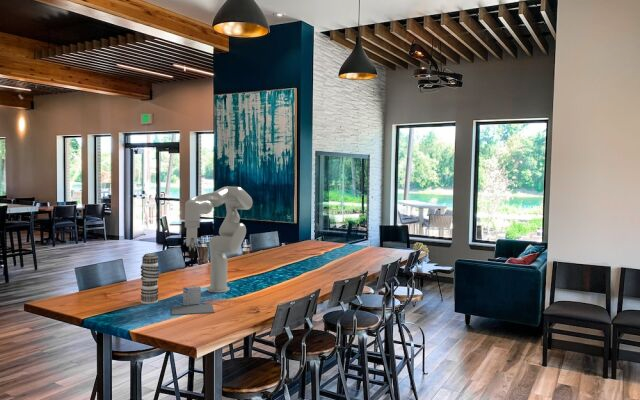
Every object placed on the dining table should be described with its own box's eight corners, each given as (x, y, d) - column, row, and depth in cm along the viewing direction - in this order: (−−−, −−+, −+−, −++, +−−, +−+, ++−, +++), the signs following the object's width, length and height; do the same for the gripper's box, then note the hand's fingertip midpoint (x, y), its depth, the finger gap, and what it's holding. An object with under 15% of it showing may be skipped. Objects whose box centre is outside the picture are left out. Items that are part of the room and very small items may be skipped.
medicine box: (195, 302, 249) (195, 285, 250) (200, 303, 247) (201, 286, 247) (182, 304, 243) (182, 287, 244) (188, 305, 241) (188, 288, 241)
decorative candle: (136, 303, 244) (137, 255, 243) (145, 298, 254) (146, 252, 252) (153, 304, 243) (154, 256, 242) (161, 299, 252) (162, 253, 251)
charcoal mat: (171, 307, 240) (171, 306, 240) (212, 305, 246) (212, 304, 246) (171, 315, 226) (171, 314, 226) (214, 312, 232) (214, 311, 232)
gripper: (184, 222, 257) (184, 253, 258) (185, 226, 241) (184, 259, 242) (198, 222, 259) (198, 253, 260) (200, 226, 243) (200, 259, 244)
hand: (191, 256), depth 251 cm, fingers open, 9 cm apart
